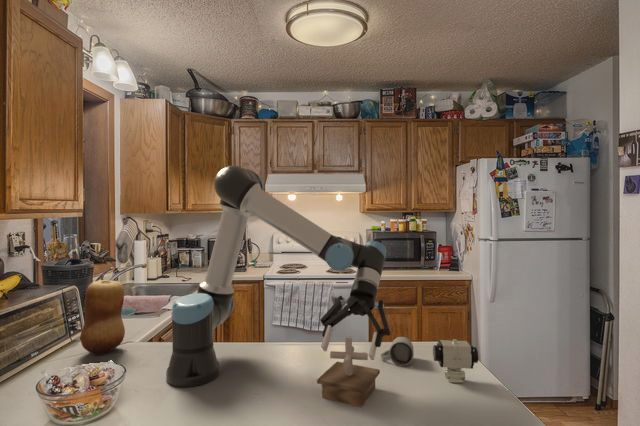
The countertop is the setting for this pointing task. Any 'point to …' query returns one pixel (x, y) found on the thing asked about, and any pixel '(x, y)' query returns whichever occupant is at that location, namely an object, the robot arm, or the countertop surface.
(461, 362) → the pneumatic valve
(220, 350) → the countertop surface
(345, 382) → the walnut stand
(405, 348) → the ceramic mug
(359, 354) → the pipe connector
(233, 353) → the countertop surface
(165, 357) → the countertop surface
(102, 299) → the butternut squash
